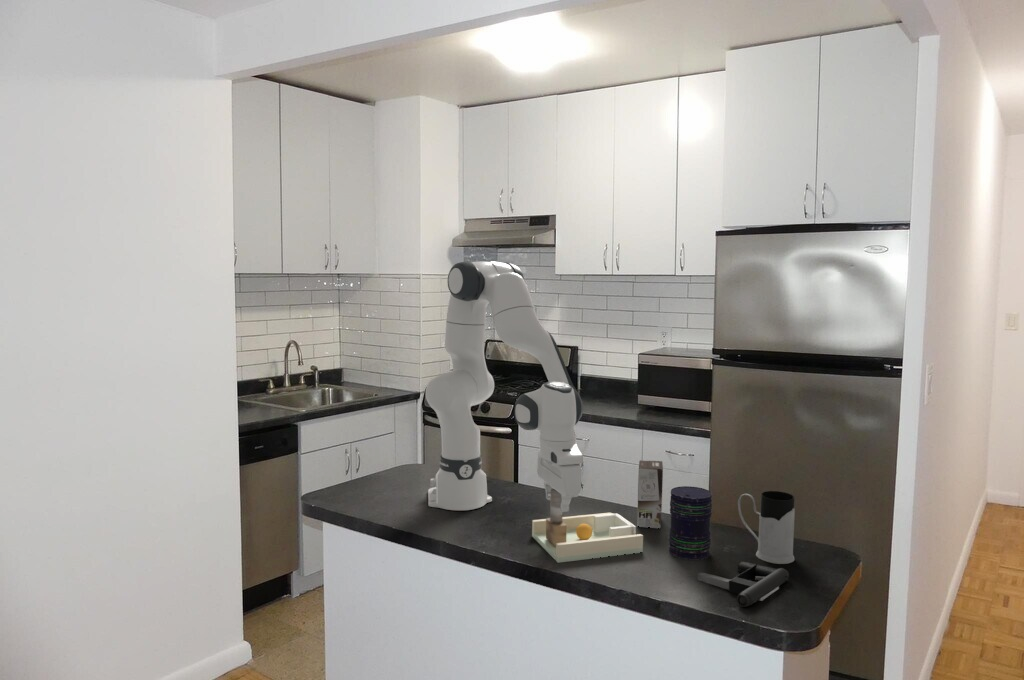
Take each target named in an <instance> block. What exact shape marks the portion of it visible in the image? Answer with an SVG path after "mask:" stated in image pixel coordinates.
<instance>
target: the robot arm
mask: <svg viewBox="0 0 1024 680" xmlns="http://www.w3.org/2000/svg"><path fill="white" fill-rule="evenodd" d="M524 279H525V278H524V273H523V271H522V270H521V268H520V267H518V265H515V264H512V263H510V262H500V261H493V260H485V261H484V260H483V261H469V260H466V261H461V262H456V263H455V264H453V265H452V267H451V268H450V270H449V272H448V274H447V287H448V290H449V292H450V296H449V297H450V298H449V301H448V306H447V311H446V323H445V335H444V337H445V339H444V349H445V350H446V352H447V353H448V354H449V356H450V358H451V363H452V371H449V372H443V373H441V374H439V375H437V376H436V377H434V378H432V379H431V380H430V381H429V382H428V383H427V385H426V388H425V399H426V402H427V405H429V407H431V409H432V410H434V412H435V415H436V417H437V419H438V421H439V425H440V432H441V454H440V458H439V469H438V471H437V473H436V474H435V477H434V478H430V480H429V485H430V487H429V488H428V490H427V499H428V502H427V503H428V507H429V508H430V507H432V508H440V509H443V510H448V511H449V510H450V511H470V510H475V509H479V508H481V507H482V508H483V507H484V506H485V505H486V504H487V503H488V504H489V503H491V502H492V501H493V497H492V496H491V495H489V494H488V484H487V474H486V473H485V472H484V470H482V466H483V465H482V463H483V459H482V455H481V430H480V427H479V426H478V425H477V424H476V423H475V422H474V419H473V416H472V411H471V408H472V407H473V406H477V405H480V404H482V403H484V402H486V400H488V399H489V398H490V397H491V396H492V395H493V393H494V390H495V380H494V377H493V375H492V374H491V373H490V371H489V370H488V366H487V363H486V358H485V333H486V321H487V320H486V318H487V316H486V315H487V308H488V306H489V305H490V308H491V313H492V319H493V323H494V327H495V331H496V334H497V335H498V337H499V339H500V340H501V341H502V342H503V343H504V344H505V345H506V346H508V347H510V348H513V349H516V350H519V351H521V352H524V353H526V354H529V355H531V356H533V357H534V358H536V359H537V361H539V363H540V364H541V366H542V368H543V371H544V373H545V376H546V378H547V380H548V381H547V382H545V383H543V384H542V385H541V387H539V388H538V389H536V390H533V391H529V392H525V393H522V394H520V395H519V396H518V397H517V399H516V401H515V403H514V410H513V412H514V413H513V415H514V416H513V417H514V418H515V421H516V423H517V425H518V426H519V427H520V428H521V429H523V430H525V431H530V432H531V431H532V432H533V431H539V451H538V453H537V463H536V473H537V474H536V475H537V477H538V478H539V479H540V480H542V481H543V486H544V491H545V498H546V500H548V501H550V496H551V489H552V488H554V489H555V490H556V491H558V492H559V493H560V494H561V498H562V502H561V503H560V510H561V511H562V512H563V513H567V512H569V511H570V504H571V501H572V499H573V498H577V497H579V496H580V494H581V490H582V466H581V464H583V463H584V455H583V454H582V451H581V450H580V449H579V447H578V443H577V436H576V435H577V434H576V431H575V426H576V425H577V424H578V423H579V421H580V419H581V418H582V416H583V412H584V403H583V400H582V398H581V395H580V394H579V392H578V391H577V388H576V387H575V386H574V383H573V382H572V380H571V377H570V375H569V371H568V369H567V367H566V365H565V362H564V359H563V357H562V354H561V352H560V350H559V347H558V345H557V342H556V341H555V338H554V336H553V335H552V334H551V332H549V331H548V330H546V329H545V327H544V326H543V325H542V323H541V322H540V319H539V318H538V314H537V312H536V309H535V306H534V302H533V298H532V295H531V293H530V289H528V285H527V283H526V282H525V281H526V280H524Z"/></svg>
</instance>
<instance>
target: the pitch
mask: <svg viewBox="0 0 1024 680" xmlns="http://www.w3.org/2000/svg"><path fill="white" fill-rule="evenodd" d="M562 522H563V523H565V524H566V525H567V529H566V542H564V543H556V547H555V546H554V545H552V544H551V543H550V542H549V541H548V540H547V539H546V518H541V519H532V520H531V524H532V527H531V537H532V538H533V539H534V540H535V541H536V543H538V544H539V545H540V546H541V547H542V548H543V549H544V550H545V551H546V552H547V553H548V554H549V556H550V557H552V558H553V559H554V560H555V561H556V562H557V563H558V564H559V563H566V562H574V561H583V560H590V559H592V558H593V559H600V557H601V558H608V556H610V557H616V556H617V555H618V556H625V555H624V554H626V555H633V553H635V554H641V553H640V552H643V550H644V535H643V534H641V533H639V534H638V533H637V525H634V524H633V523H632V522H631V521H629V520H627V519H626V518H625V517H623V516H622V515H621V514H619V513H612V512H603V513H601V512H600V513H593V514H581V515H573V516H572V515H571V516H562ZM580 524H588V525H589V526H590V527H591V528H592V536H591V537H590V538H589V539H588V540H581V539H579V538H578V536H577V534H576V529H577V527H578V526H579V525H580Z"/></svg>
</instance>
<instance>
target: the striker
mask: <svg viewBox="0 0 1024 680" xmlns="http://www.w3.org/2000/svg"><path fill="white" fill-rule="evenodd" d="M549 501H550V502H549V503H550V507H549V508H550V510H549V511H550V512H549V514H550V516H549V517H546V518H545V519H546V539H547V540H548V541H549V542H550V543H551V544H552V545H554V546H555V547H556V543H564V542H566V529H567V525H566V524H565V523H563V522H562V517H564V516H563V513H564V512H562V511H561V510H560V503H561V502H562V498H561V494H560V493H559V492H558V491H556V490H555V489H554V488H552V489H551V496H550V500H549Z"/></svg>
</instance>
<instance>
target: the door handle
mask: <svg viewBox="0 0 1024 680" xmlns="http://www.w3.org/2000/svg"><path fill="white" fill-rule="evenodd" d="M737 570H738V572H739V574H738V575H736V576H735V577H733V578H731V579H729V578H725V577H721V576H718V575H714V574H710V573H706V572H702V571H701V572H699V573H697V581H700V582H703V583H706V584H708V585H712V586H715V587H718V588H721V589H724V590H728V591H729V593H732V594H736V595H737V596H736V602H737V604H738V606H740V607H741V608H746V607H750V606H752V605H753V604H754V603H757V602H758V601H761V602H763V601H764V600H765V599H766V598H768V597H769V596H770V595H772V594H774V593H775V592H776V591H778V590H780V586H781V585H783V584H784V583H786V582H789V583H790V581H789V579H790V578H791V576H790V573H789V571H788V570H786V568H783V567H780V568H774V567H771V566H766V565H761V564H757V563H753V562H749V561H740V562H739V563H738V565H737ZM753 578H754V579H755V580H756V581H755V580H754V581H753V580H751V579H753ZM757 580H758V581H757Z"/></svg>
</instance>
